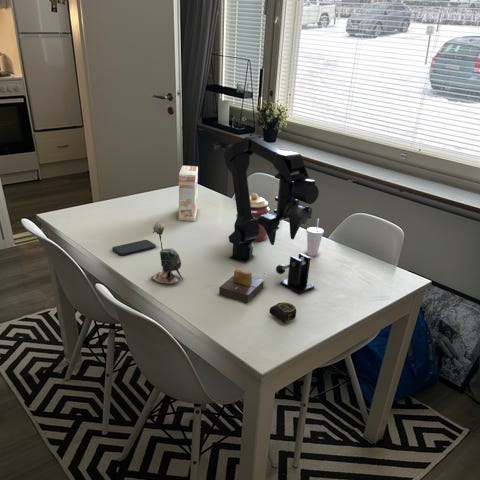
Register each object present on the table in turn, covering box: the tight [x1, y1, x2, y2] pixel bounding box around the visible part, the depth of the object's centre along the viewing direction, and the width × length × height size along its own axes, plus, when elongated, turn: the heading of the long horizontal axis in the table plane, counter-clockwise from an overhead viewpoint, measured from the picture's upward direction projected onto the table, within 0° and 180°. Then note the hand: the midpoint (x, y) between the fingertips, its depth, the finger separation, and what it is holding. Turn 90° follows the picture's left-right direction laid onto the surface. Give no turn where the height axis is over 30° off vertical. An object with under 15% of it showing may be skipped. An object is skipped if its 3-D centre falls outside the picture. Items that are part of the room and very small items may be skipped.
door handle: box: [275, 257, 306, 275], centre depth 168 cm, size 13×3×3 cm
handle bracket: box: [279, 252, 315, 296], centre depth 166 cm, size 9×7×11 cm
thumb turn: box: [233, 268, 253, 286], centre depth 161 cm, size 6×2×4 cm, turn 64°
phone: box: [111, 239, 157, 256], centre depth 188 cm, size 7×1×15 cm
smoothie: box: [305, 218, 325, 257], centre depth 189 cm, size 6×6×14 cm
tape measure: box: [269, 301, 297, 324], centre depth 149 cm, size 7×7×4 cm
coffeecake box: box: [178, 165, 199, 222], centre depth 218 cm, size 15×7×20 cm, turn 179°
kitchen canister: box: [236, 192, 271, 243], centre depth 200 cm, size 13×13×18 cm
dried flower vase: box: [150, 222, 184, 285], centre depth 162 cm, size 8×11×20 cm
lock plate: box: [218, 275, 265, 304], centre depth 163 cm, size 12×10×3 cm
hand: (282, 241), depth 167 cm, fingers open, 9 cm apart
